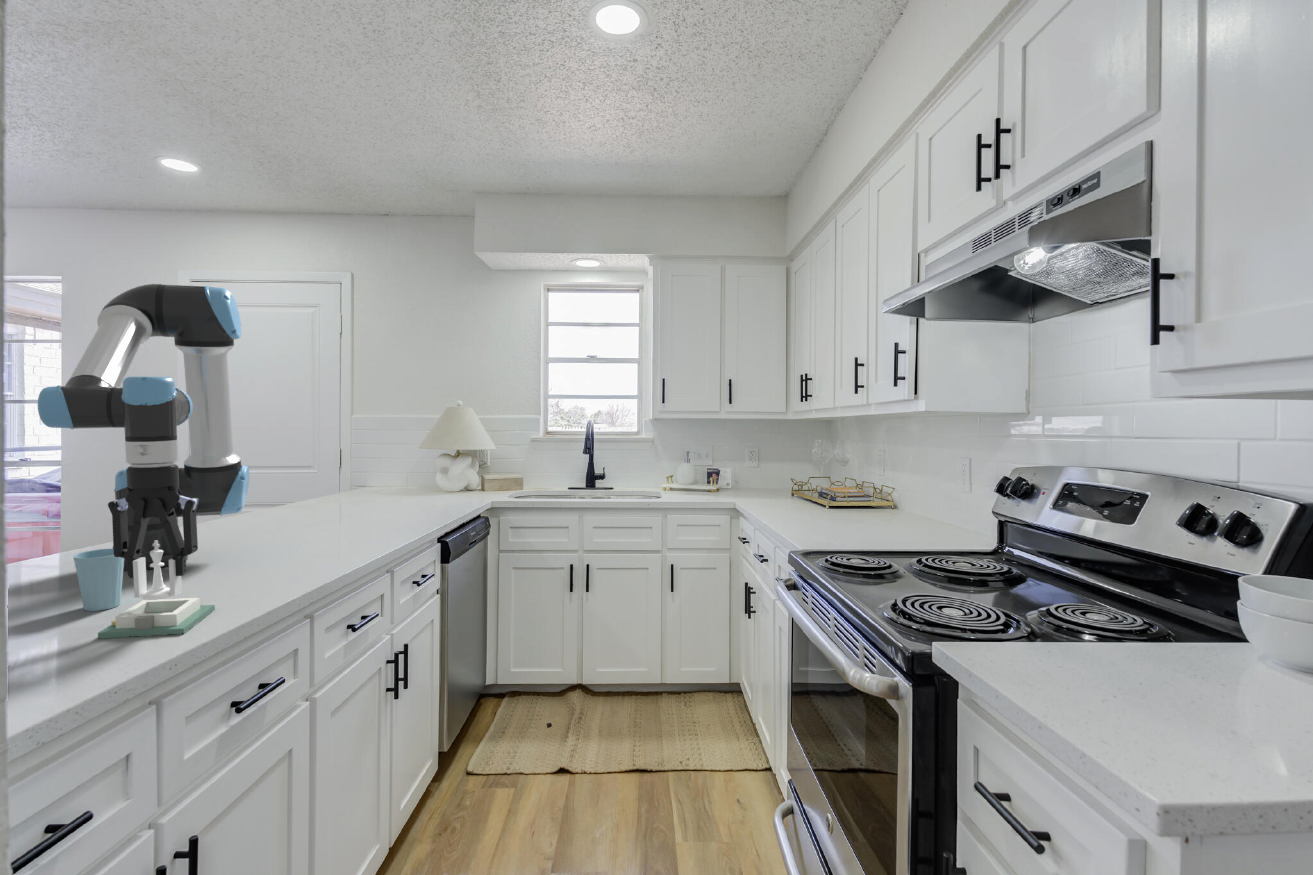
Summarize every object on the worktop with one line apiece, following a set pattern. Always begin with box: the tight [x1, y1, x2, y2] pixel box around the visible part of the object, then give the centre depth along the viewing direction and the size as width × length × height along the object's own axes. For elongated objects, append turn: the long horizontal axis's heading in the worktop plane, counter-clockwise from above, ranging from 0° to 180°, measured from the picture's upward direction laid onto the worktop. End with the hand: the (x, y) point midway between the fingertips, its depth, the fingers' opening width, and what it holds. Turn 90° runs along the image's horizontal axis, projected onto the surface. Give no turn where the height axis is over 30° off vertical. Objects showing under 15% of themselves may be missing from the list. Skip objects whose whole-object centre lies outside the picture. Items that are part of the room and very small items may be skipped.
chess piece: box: [141, 540, 172, 600], centre depth 126 cm, size 5×5×10 cm
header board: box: [97, 597, 216, 639], centre depth 127 cm, size 13×13×3 cm
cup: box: [73, 548, 124, 612], centre depth 136 cm, size 8×8×10 cm
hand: (158, 594), depth 127 cm, fingers closed on chess piece, 5 cm apart
